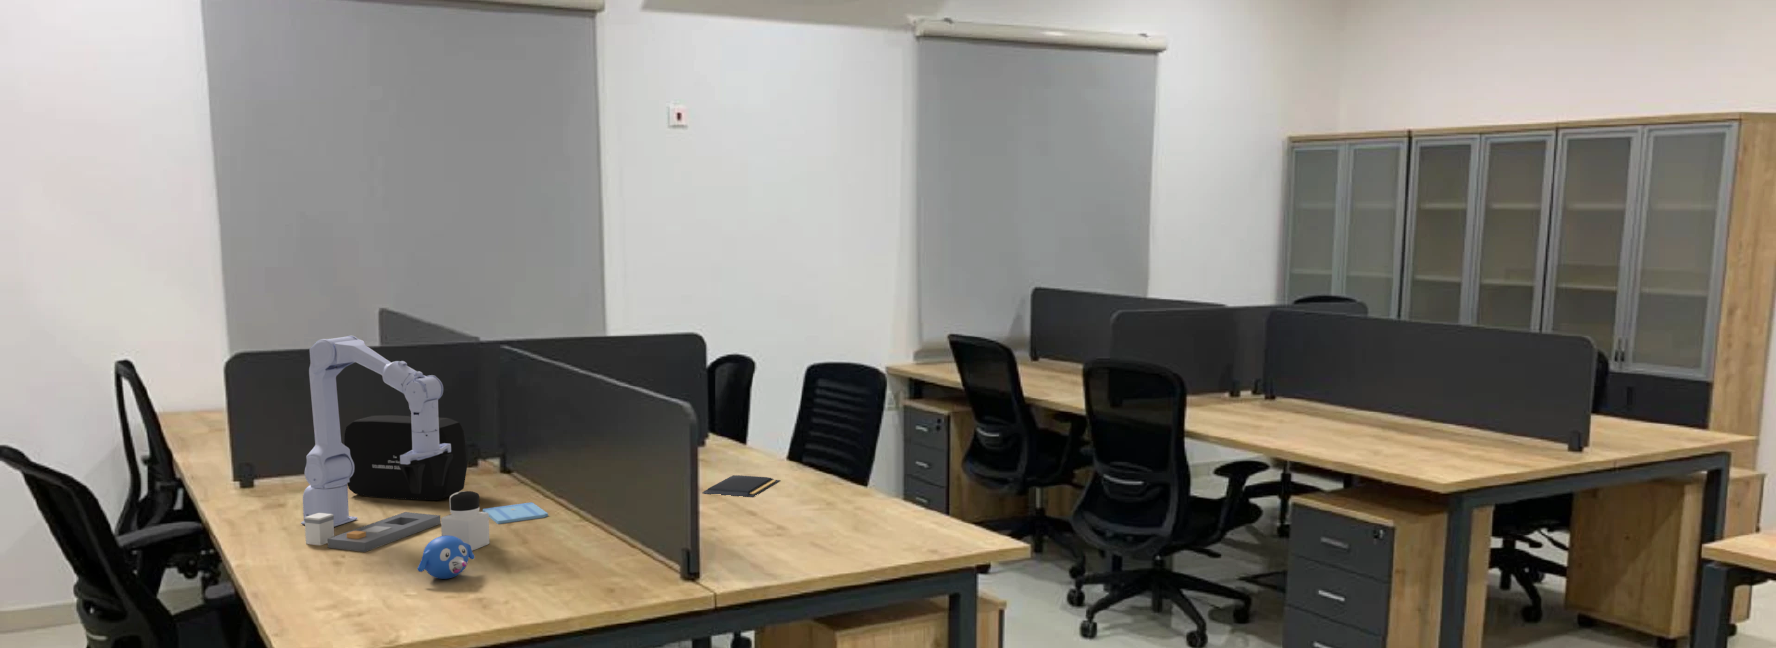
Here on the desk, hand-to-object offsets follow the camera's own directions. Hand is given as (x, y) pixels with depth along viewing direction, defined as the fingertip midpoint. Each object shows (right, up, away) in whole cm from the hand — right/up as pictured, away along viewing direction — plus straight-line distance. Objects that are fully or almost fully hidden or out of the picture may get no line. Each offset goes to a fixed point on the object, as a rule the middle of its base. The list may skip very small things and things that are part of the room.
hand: (427, 489), depth 264 cm
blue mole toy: (+18, -13, -33) cm, 40 cm away
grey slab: (-9, -10, -1) cm, 14 cm away
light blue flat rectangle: (+14, -9, +18) cm, 24 cm away
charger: (-21, -11, -7) cm, 25 cm away
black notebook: (+66, -7, +46) cm, 80 cm away
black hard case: (-19, -7, +38) cm, 43 cm away
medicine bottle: (+12, -11, -10) cm, 20 cm away
